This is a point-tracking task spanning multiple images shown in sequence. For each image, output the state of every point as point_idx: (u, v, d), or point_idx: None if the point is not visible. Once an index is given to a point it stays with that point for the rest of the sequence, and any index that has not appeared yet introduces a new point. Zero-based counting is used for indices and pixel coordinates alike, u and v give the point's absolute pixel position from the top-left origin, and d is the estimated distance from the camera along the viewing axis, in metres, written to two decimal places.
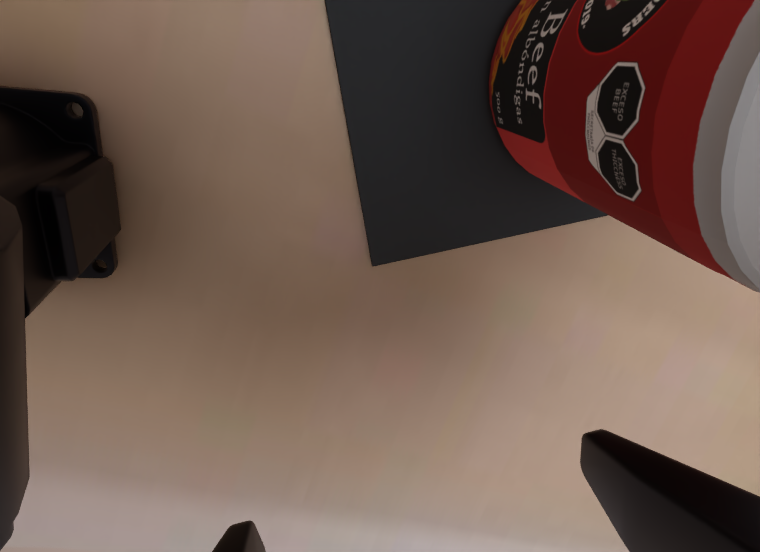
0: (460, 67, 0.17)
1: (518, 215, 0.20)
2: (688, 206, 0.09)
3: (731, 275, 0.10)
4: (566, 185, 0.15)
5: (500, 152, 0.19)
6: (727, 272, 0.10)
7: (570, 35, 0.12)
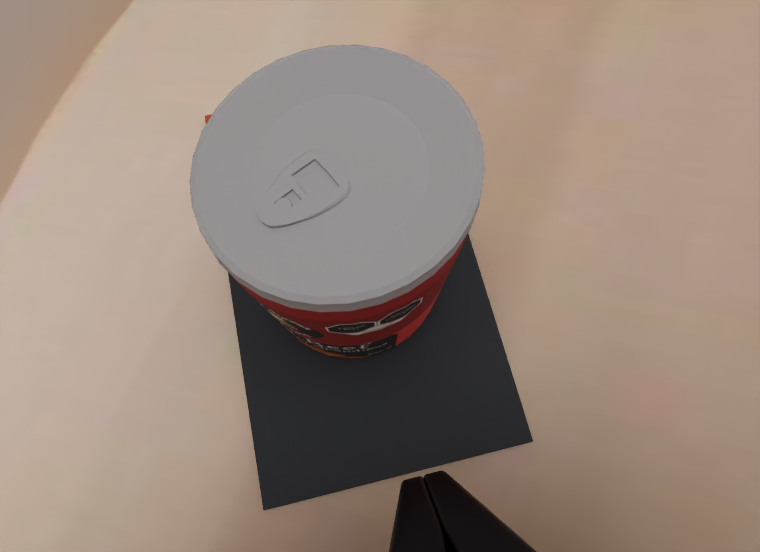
0: (353, 379, 0.21)
1: (471, 304, 0.22)
2: (412, 290, 0.12)
3: (465, 235, 0.12)
4: (429, 306, 0.18)
5: (417, 332, 0.22)
6: (463, 239, 0.12)
7: (318, 340, 0.16)
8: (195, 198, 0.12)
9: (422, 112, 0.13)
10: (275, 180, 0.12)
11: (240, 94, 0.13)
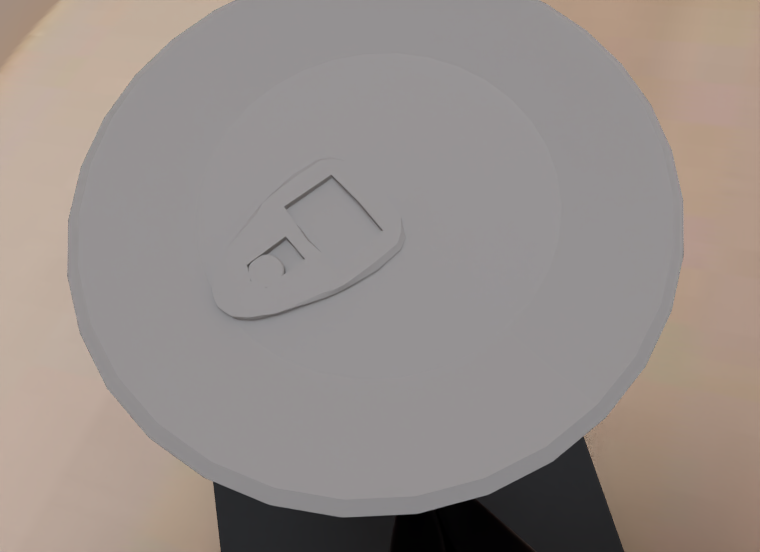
0: None
1: None
2: None
3: None
4: None
5: None
6: None
7: None
8: (75, 257, 0.06)
9: (538, 87, 0.07)
10: (250, 217, 0.06)
11: (186, 48, 0.07)
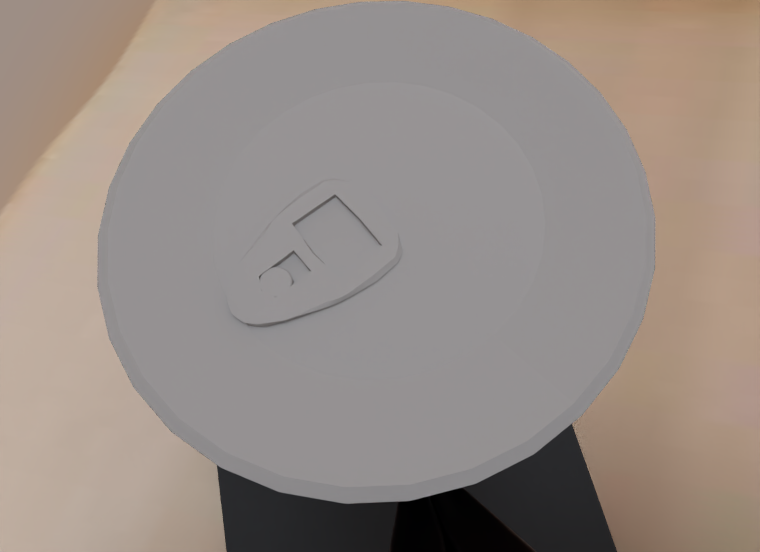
0: None
1: None
2: None
3: None
4: None
5: None
6: None
7: None
8: (103, 269, 0.06)
9: (525, 113, 0.07)
10: (261, 233, 0.07)
11: (203, 79, 0.07)
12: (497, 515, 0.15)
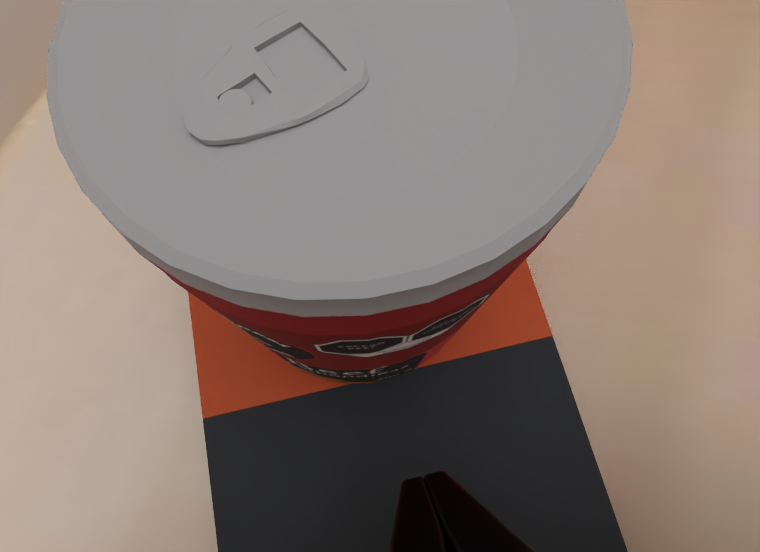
0: None
1: (596, 547, 0.14)
2: (491, 276, 0.06)
3: None
4: None
5: None
6: None
7: (305, 362, 0.10)
8: (53, 81, 0.06)
9: None
10: (222, 57, 0.06)
11: None
12: (497, 495, 0.15)
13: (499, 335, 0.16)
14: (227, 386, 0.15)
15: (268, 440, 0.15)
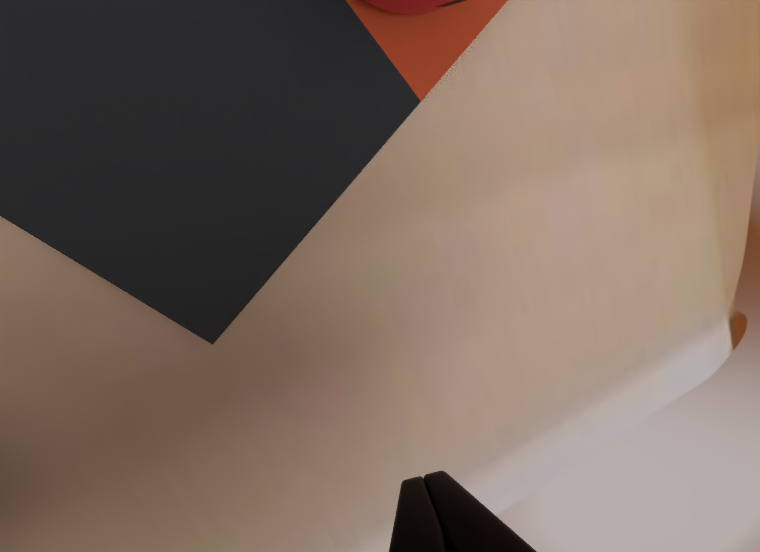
0: (124, 127, 0.15)
1: (305, 204, 0.18)
2: None
3: None
4: None
5: (236, 168, 0.17)
6: None
7: None
8: None
9: None
10: None
11: None
12: (294, 118, 0.17)
13: (401, 58, 0.18)
14: None
15: None
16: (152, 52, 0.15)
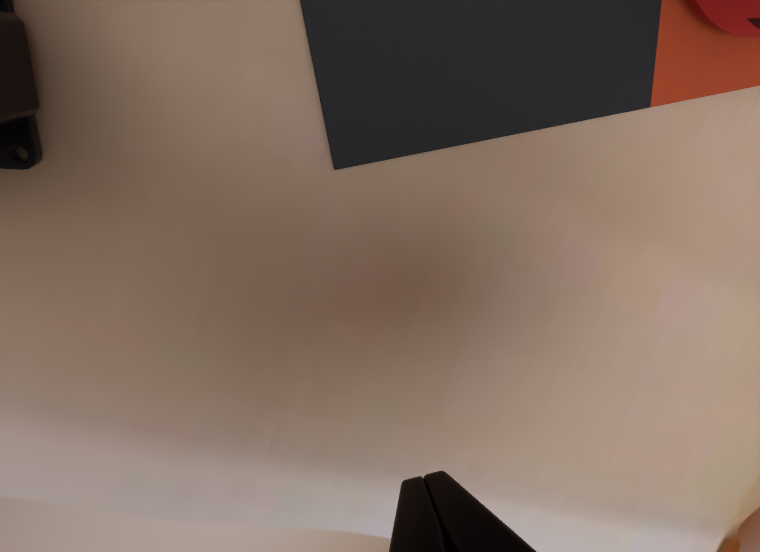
0: None
1: (498, 113, 0.18)
2: None
3: None
4: None
5: (475, 34, 0.17)
6: None
7: None
8: None
9: None
10: None
11: None
12: (549, 32, 0.17)
13: (666, 56, 0.18)
14: None
15: None
16: None
